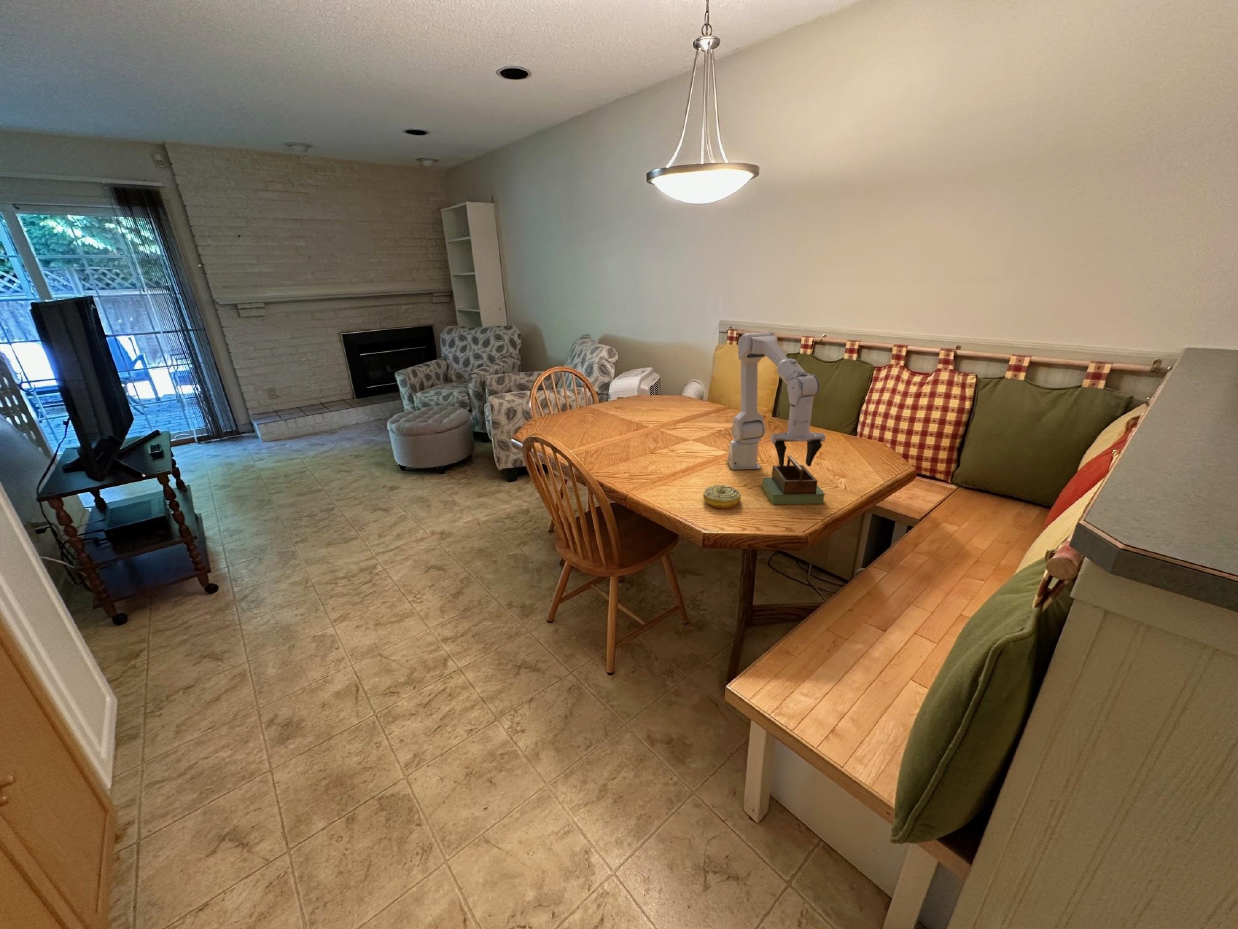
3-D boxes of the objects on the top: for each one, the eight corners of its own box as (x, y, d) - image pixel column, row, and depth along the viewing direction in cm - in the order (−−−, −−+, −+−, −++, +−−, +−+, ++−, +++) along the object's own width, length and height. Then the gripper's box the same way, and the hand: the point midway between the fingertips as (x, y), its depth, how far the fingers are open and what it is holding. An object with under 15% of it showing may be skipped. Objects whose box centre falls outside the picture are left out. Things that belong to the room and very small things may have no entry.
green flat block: (772, 504, 135) (773, 494, 134) (761, 486, 146) (762, 477, 145) (824, 503, 134) (825, 494, 133) (808, 485, 146) (809, 476, 145)
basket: (783, 494, 134) (785, 470, 131) (771, 477, 145) (773, 454, 142) (815, 493, 133) (819, 469, 131) (801, 477, 144) (804, 454, 142)
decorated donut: (743, 496, 140) (743, 485, 139) (737, 512, 131) (738, 500, 129) (707, 492, 144) (708, 480, 142) (699, 507, 134) (700, 495, 133)
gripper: (777, 424, 128) (772, 471, 133) (832, 423, 128) (825, 470, 133) (770, 417, 135) (766, 461, 140) (822, 415, 134) (816, 460, 139)
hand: (794, 465), depth 137 cm, fingers open, 7 cm apart
